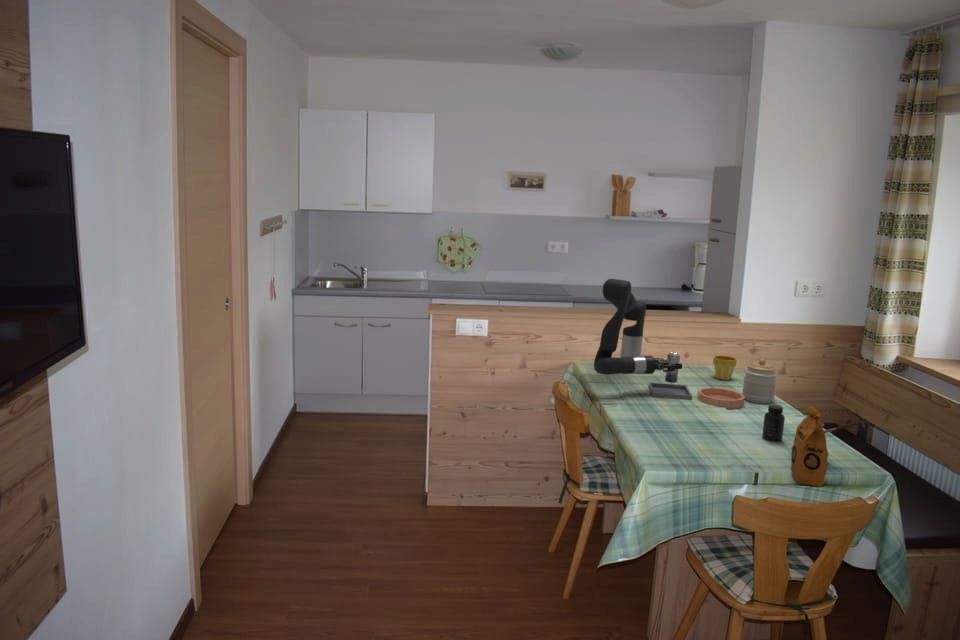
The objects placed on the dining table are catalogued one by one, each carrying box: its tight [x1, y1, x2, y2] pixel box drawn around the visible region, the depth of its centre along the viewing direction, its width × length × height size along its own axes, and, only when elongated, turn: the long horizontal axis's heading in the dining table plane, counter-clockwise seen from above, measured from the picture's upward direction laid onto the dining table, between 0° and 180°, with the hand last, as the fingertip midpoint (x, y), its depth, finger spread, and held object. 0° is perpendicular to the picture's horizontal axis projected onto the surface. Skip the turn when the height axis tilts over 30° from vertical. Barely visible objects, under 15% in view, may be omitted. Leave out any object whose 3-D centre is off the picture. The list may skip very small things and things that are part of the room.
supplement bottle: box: [761, 404, 786, 442], centre depth 271 cm, size 7×7×12 cm
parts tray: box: [648, 382, 693, 401], centre depth 320 cm, size 16×16×2 cm
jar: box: [741, 358, 778, 404], centre depth 319 cm, size 13×13×18 cm
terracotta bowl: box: [696, 387, 746, 410], centre depth 313 cm, size 18×18×4 cm
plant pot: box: [712, 354, 738, 381], centre depth 352 cm, size 10×10×10 cm
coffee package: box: [790, 405, 829, 488], centre depth 233 cm, size 10×12×22 cm
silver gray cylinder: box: [664, 351, 681, 384], centre depth 318 cm, size 5×5×12 cm
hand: (678, 364), depth 319 cm, fingers closed on silver gray cylinder, 5 cm apart
